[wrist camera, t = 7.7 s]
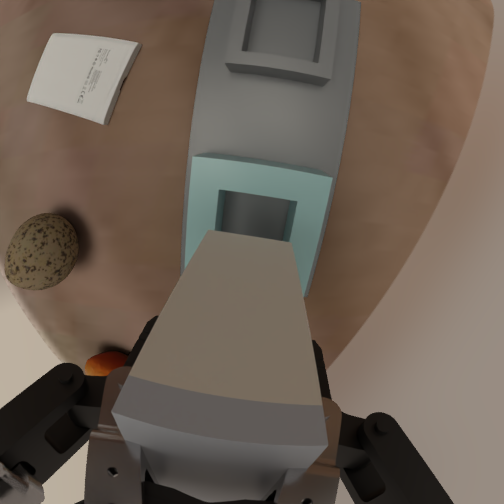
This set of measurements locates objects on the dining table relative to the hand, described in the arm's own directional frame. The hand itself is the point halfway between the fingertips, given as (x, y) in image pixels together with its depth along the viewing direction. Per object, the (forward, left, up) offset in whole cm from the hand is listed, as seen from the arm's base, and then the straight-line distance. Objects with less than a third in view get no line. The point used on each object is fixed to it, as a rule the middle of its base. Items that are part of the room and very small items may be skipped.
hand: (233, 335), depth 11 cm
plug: (0, 0, -4) cm, 4 cm away
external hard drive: (-13, -19, -15) cm, 28 cm away
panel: (-8, 0, -14) cm, 16 cm away
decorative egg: (+4, -20, -14) cm, 25 cm away
